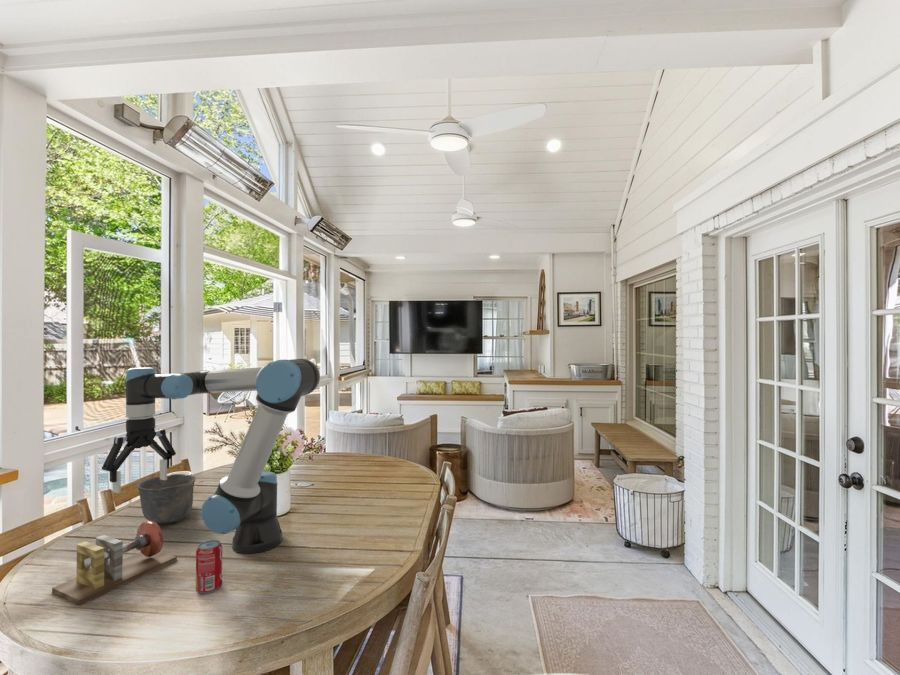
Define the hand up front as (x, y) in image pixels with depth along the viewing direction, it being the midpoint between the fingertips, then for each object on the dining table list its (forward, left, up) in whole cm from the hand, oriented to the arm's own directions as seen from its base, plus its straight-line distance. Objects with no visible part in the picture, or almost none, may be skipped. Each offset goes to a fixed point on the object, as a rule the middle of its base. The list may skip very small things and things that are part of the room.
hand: (141, 485), depth 139 cm
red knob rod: (-7, +10, -19) cm, 23 cm away
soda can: (-36, +4, -22) cm, 42 cm away
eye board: (-7, +10, -21) cm, 25 cm away
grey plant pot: (+18, -19, -22) cm, 34 cm away
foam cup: (+28, -30, -22) cm, 46 cm away
